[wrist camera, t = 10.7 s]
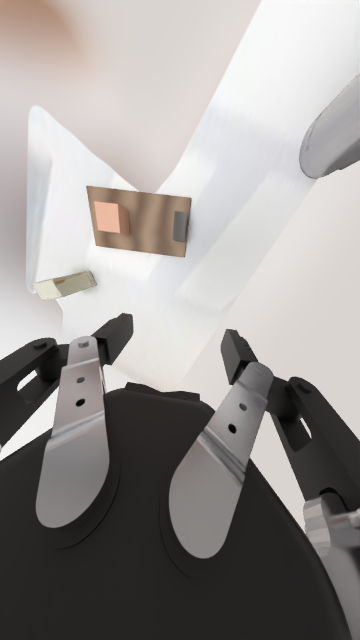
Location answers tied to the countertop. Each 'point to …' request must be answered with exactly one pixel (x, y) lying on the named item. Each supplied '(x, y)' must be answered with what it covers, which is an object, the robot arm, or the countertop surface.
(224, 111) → the countertop surface
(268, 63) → the countertop surface
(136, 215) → the walnut strip
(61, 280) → the skincare box
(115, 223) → the terracotta block
